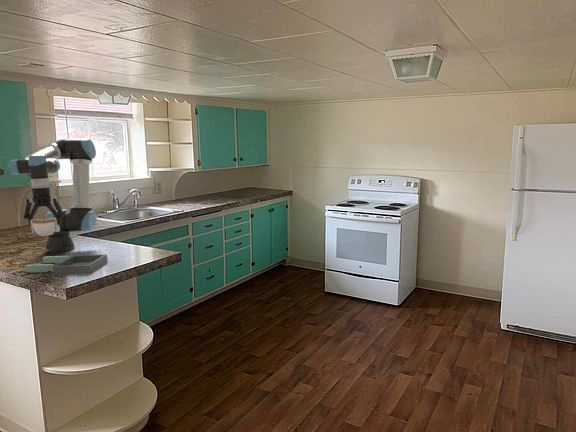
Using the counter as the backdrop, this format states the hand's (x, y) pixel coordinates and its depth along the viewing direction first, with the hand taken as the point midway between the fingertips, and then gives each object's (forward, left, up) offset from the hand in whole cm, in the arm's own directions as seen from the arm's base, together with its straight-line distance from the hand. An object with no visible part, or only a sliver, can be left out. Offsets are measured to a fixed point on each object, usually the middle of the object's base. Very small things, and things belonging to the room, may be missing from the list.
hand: (46, 231), depth 219 cm
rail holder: (-1, 0, -18) cm, 18 cm away
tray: (+17, -4, -18) cm, 25 cm away
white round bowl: (0, 0, -2) cm, 2 cm away
